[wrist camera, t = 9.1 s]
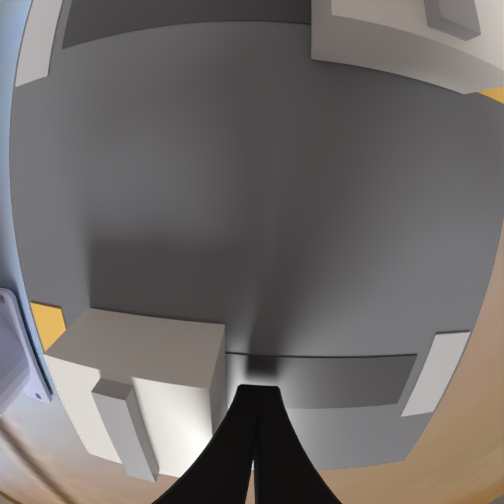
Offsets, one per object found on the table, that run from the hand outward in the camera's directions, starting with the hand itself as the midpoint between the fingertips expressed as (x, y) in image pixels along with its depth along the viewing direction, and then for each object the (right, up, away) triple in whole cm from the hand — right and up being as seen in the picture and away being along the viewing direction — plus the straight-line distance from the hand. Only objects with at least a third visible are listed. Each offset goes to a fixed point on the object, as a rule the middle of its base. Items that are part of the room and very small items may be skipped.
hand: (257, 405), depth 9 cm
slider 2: (+4, +12, -3) cm, 13 cm away
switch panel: (0, +7, +1) cm, 7 cm away
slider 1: (-4, +1, +1) cm, 4 cm away
